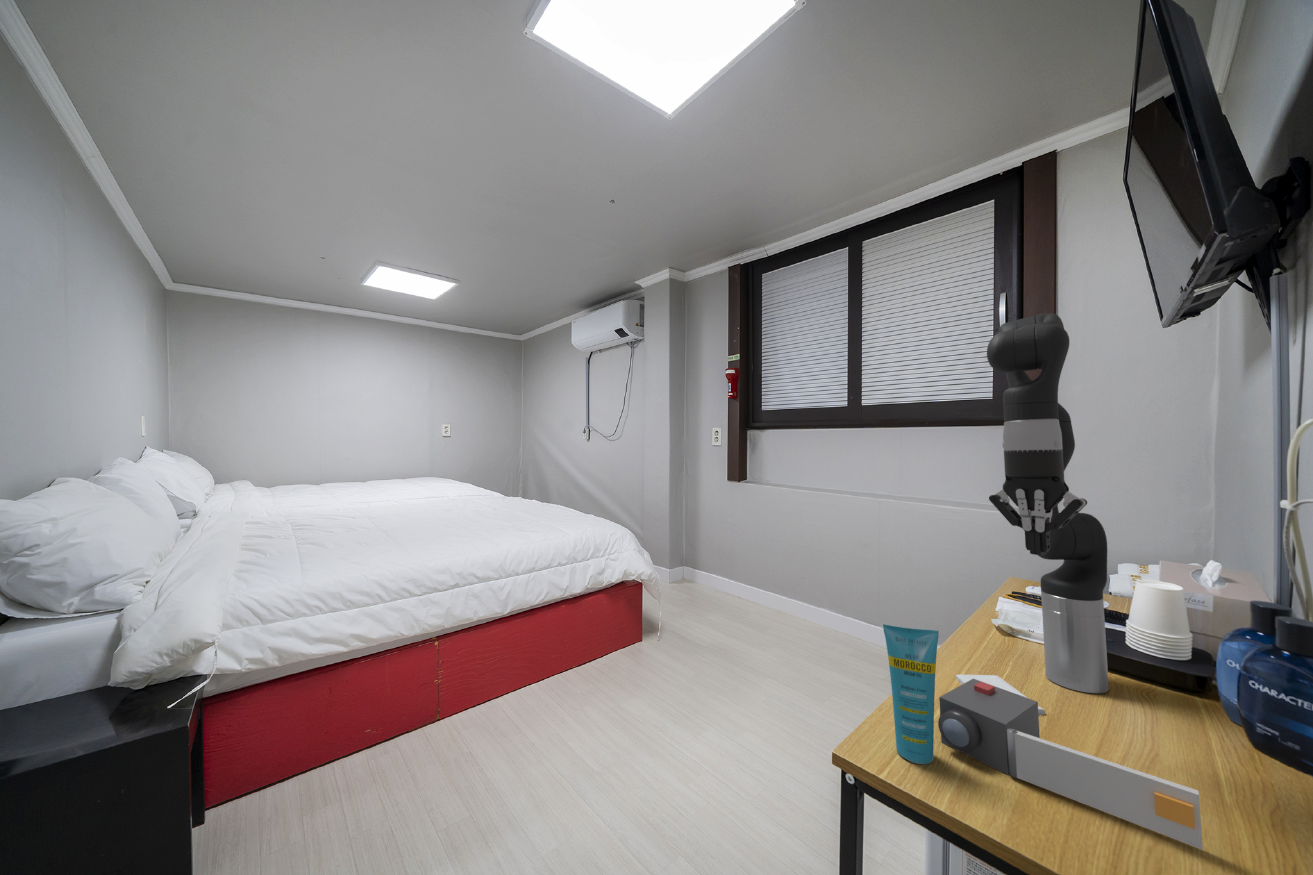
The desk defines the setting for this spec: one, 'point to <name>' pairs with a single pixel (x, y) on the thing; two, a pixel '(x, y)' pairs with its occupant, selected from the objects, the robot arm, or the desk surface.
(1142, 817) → the door
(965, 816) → the desk surface
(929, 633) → the tube
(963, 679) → the external hard drive
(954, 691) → the camera body
